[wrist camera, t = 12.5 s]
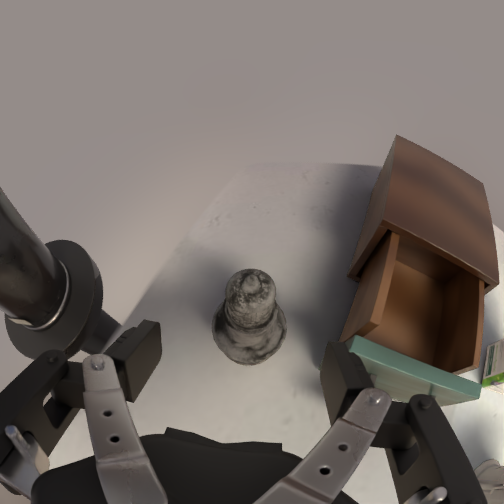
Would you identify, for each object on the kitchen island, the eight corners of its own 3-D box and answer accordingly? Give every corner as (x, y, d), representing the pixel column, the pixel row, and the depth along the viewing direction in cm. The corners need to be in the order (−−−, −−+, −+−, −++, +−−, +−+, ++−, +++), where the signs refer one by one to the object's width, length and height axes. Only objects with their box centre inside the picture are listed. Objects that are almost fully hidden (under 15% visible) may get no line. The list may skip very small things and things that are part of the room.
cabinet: (444, 322, 24) (499, 283, 16) (346, 276, 27) (382, 218, 19) (450, 227, 32) (483, 183, 24) (373, 188, 35) (396, 134, 27)
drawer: (409, 452, 16) (462, 456, 10) (294, 416, 19) (318, 421, 12) (448, 288, 25) (488, 253, 19) (363, 246, 28) (390, 198, 22)
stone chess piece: (291, 352, 23) (330, 303, 13) (231, 378, 22) (217, 352, 11) (264, 298, 26) (277, 217, 16) (207, 320, 24) (179, 250, 14)
